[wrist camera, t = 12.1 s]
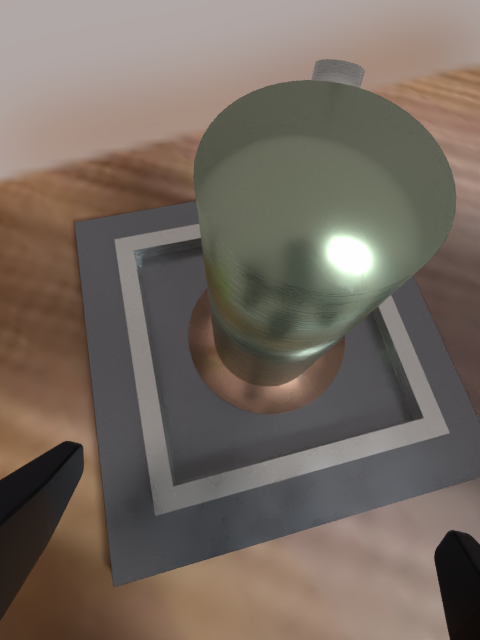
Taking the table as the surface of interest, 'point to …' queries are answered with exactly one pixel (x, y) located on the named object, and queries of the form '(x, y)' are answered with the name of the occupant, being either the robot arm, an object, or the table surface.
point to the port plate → (249, 408)
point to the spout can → (312, 216)
